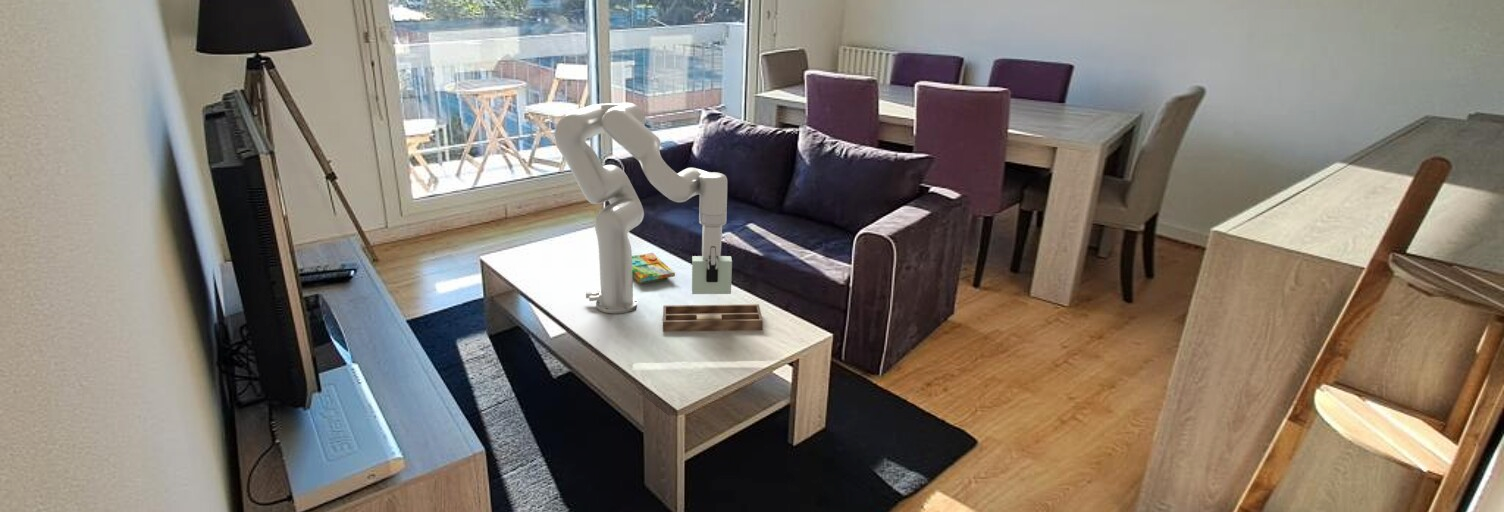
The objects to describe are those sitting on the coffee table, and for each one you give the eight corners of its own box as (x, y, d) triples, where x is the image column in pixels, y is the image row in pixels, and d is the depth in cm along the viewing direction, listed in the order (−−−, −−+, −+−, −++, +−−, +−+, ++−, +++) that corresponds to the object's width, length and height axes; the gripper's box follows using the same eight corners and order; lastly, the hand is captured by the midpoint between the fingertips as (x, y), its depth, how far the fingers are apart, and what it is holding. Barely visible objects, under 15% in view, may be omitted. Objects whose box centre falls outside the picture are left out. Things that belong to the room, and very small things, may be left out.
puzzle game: (652, 250, 269) (674, 270, 252) (652, 263, 270) (674, 283, 254) (619, 255, 264) (640, 276, 247) (619, 268, 265) (640, 289, 249)
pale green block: (692, 294, 221) (692, 261, 218) (691, 288, 225) (692, 256, 221) (730, 293, 223) (731, 261, 219) (730, 288, 226) (731, 256, 223)
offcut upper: (696, 323, 220) (696, 318, 219) (696, 319, 222) (696, 314, 222) (721, 323, 221) (721, 318, 220) (721, 319, 223) (721, 314, 223)
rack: (663, 335, 219) (662, 321, 217) (663, 318, 229) (663, 305, 228) (762, 333, 222) (762, 320, 220) (758, 317, 232) (758, 304, 230)
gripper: (698, 208, 223) (697, 267, 230) (700, 227, 208) (699, 290, 214) (724, 208, 224) (723, 267, 231) (728, 227, 208) (726, 290, 215)
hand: (711, 277), depth 222 cm, fingers closed on pale green block, 4 cm apart
